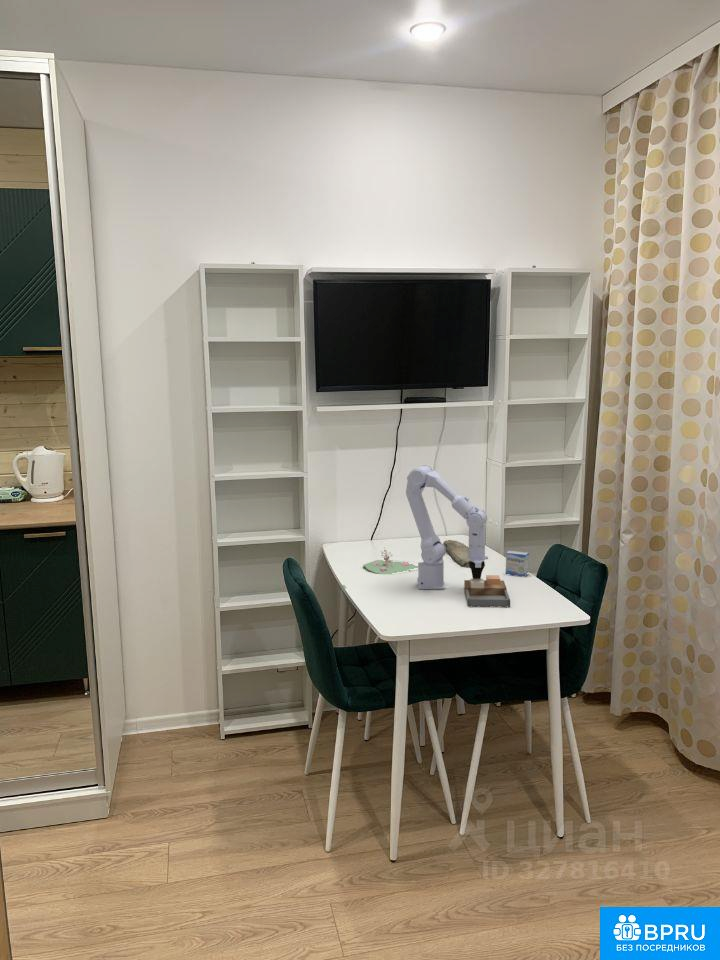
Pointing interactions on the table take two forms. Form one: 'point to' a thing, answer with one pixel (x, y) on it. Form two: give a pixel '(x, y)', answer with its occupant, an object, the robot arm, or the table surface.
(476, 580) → the cream tile
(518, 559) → the medicine box
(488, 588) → the walnut board
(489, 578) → the terracotta tile
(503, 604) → the bin
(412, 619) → the table surface
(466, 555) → the elongated rock
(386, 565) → the plant
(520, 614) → the table surface
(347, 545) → the table surface
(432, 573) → the robot arm
